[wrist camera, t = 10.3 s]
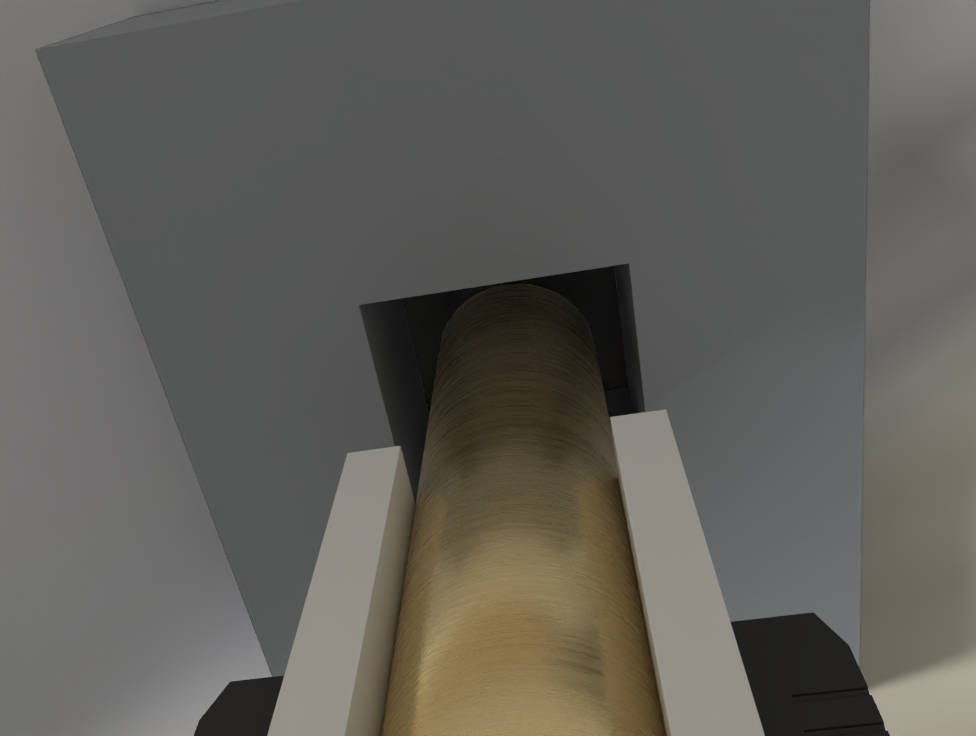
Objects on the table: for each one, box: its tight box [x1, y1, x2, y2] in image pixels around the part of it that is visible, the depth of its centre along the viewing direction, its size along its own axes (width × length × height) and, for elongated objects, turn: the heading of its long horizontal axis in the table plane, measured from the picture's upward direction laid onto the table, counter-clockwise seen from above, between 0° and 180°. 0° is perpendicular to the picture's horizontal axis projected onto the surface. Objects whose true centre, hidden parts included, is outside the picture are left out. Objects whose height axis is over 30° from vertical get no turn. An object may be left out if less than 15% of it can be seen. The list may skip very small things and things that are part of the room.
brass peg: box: [381, 283, 666, 736], centre depth 11 cm, size 3×3×14 cm
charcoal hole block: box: [36, 0, 870, 677], centre depth 19 cm, size 20×12×4 cm, turn 10°
